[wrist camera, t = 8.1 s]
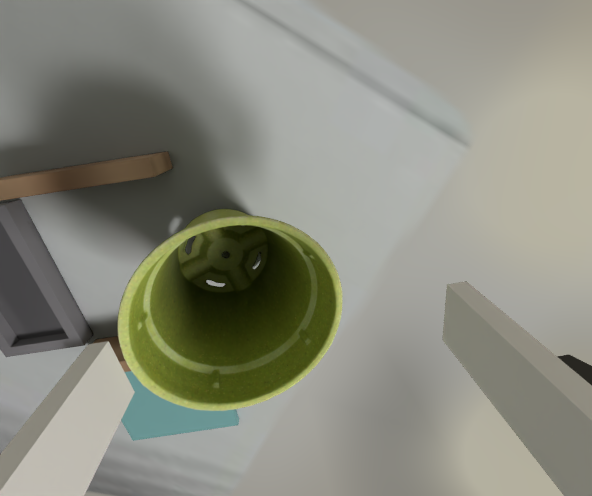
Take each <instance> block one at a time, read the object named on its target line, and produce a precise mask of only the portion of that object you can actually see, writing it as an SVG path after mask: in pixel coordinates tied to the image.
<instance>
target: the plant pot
mask: <svg viewBox="0 0 592 496" xmlns="http://www.w3.org/2000/svg"><path fill="white" fill-rule="evenodd" d="M241 225H245V226H241ZM193 236H195V239H194V242H193V244H192V247H191V253H190V254H187V253H186V251H185V247H186V245H187V241H188V239H189V238H191V237H193ZM225 251H226V252H229V254H230V256H229V257H228V258H224V257H222V253H223V252H225ZM259 252H260V253H261V261H260V264H259V265H258V267H257V268H256V269H252V266H253V265H254V263H255V261H256V258H257V256H258V253H259ZM206 280H211V281H214V282H216V283H225V284H226V285H224V286H223V287H217V286H211V285H208V283H206ZM341 313H342V288H341V282H340V279H339V276H338V273H337V270H336V268H335V266H334V264H333V262H332V260H331V259H330V257H329V256H328V254H327V253H326V252H325V251H324V249H323V248H322V247H321V246H320V245H319V244H318V243H317V242H316V241H315V240H314V239H312V238H311V237H310V236H308V235H307V234H305V233H304V232H302V231H301V230H299V229H297V228H295V227H293V226H291V225H289V224H286V223H284V222H281V221H278V220H274V219H270V218H265V217H259V216H249V215H247V214H245V213H243V212H240V211H237V210H231V209H217V210H213V211H209V212H207V213H204V214H202V215H200V216H198V217H197V218H195V219H193V220H192V221H191V222H190V223H189V224H188V225H187V226H186V228H185V229H183V230H182V231H180V232H178V233H176V234H174V235H173V236H171V237H170V238H168V239H167V240H165V241H164V242H162V243H161V244H160V245H159V246H158V247H156V248H155V249H154V250H153V251H152V252H151V253H150V254H149V255H148V256H147V257H146V258H145V259H144V260H143V262H142V263H141V264H140V265H139V267H138V268H137V269H136V271H135V272H134V274H133V275H132V277H131V279H130V280H129V282H128V284H127V286H126V289H125V291H124V294H123V296H122V299H121V303H120V308H119V313H118V339H119V343H120V347H121V350H122V354H123V356H124V359H125V361H126V363H127V365H128V367H129V368H130V370H131V371H132V372H133V374H134V375H135V376H136V377H137V379H138V380H139V381H140V382H141V384H142V385H143V386H144V387H146V388H147V389H149V390H150V391H151V392H152V393H154V394H156V395H157V396H159V397H161V398H162V399H165V400H167V401H169V402H172V403H174V404H177V405H180V406H184V407H187V408H192V409H196V410H206V411H225V410H234V409H239V408H243V407H247V406H251V405H254V404H257V403H260V402H263V401H266V400H268V399H270V398H272V397H274V396H276V395H279V394H281V393H282V392H284V391H286V390H287V389H289V388H291V387H292V386H293V385H295V384H296V383H298V382H299V381H300V380H301V379H303V378H304V377H305V376H306V375H307V374H308V373H309V372H310V371H311V370H312V369H313V368H314V367H315V366H316V365H317V364H318V363H319V361H320V360H321V359H322V358H323V356H324V355H325V353H326V352H327V351H328V349H329V347H330V346H331V344H332V342H333V340H334V337H335V334H336V332H337V329H338V326H339V323H340V319H341Z"/></svg>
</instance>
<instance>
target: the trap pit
mask: <svg viewBox="0 0 592 496" xmlns="http://www.w3.org/2000/svg"><path fill="white" fill-rule="evenodd" d="M92 336H93V333H92V331H91V329H90V328H89V326H88V324H87V322H86V320H85V318H84V316H83V314H82V313H81V311H80V309H79V307H78V305H77V303H76V301H75V300H74V298H73V296H72V294H71V292H70V290H69V288H68V287H67V285H66V283H65V281H64V279H63V277H62V275H61V274H60V272H59V270H58V268H57V266H56V264H55V262H54V261H53V259H52V257H51V255H50V253H49V251H48V249H47V247H46V246H45V244H44V242H43V240H42V238H41V236H40V234H39V233H38V231H37V229H36V227H35V225H34V223H33V221H32V220H31V218H30V216H29V214H28V212H27V210H26V208H25V207H24V205H23V203H22V201H21V200H16V201H9V202H3V203H0V349H1V351H2V352H3V354H4V355H5V356H6V357H10V356H16V355H23V354H30V353H36V352H43V351H50V350H56V349H63V348H70V347H76V346H83V345H85V344H86V343H87V341H88V340H89V339H90V338H91V337H92Z"/></svg>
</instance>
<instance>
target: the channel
mask: <svg viewBox="0 0 592 496" xmlns="http://www.w3.org/2000/svg"><path fill="white" fill-rule="evenodd" d="M172 168H173V166H172V163H171V160H170V157H169V153H168V151H167V152H161V153H155V154H148V155H142V156H135V157H129V158H122V159H116V160H109V161H103V162H96V163H90V164H83V165H77V166H70V167H64V168H58V169H51V170H45V171H38V172H32V173H25V174H19V175H12V176H7V177H2V178H0V201H1V200H7V199H14V198H20V197H27V196H33V195H40V194H46V193H53V192H59V191H66V190H72V189H79V188H85V187H92V186H98V185H105V184H111V183H118V182H124V181H131V180H137V179H144V178H150V177H155V176H157V175H159V174H162V173H164V172H166V171H168V170H170V169H172ZM106 341H109V343H110V345H111V347H112V349H113V351H114V353H115V355H116V357H117V359H118V361H119V363H120V364H121V366H122V368H123V370H124V372H129V371H131V370H130V368H129V367H128V365H127V363H126V361H125V359H124V356H123V354H122V350H121V347H120V343H119V339H118V336H116V337H109V338H103V339H96V340H95V341H94V342H93V344H94V343H100V342H106Z"/></svg>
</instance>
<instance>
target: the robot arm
mask: <svg viewBox="0 0 592 496" xmlns="http://www.w3.org/2000/svg"><path fill="white" fill-rule="evenodd" d="M444 316H445V317H444V328H443V341H444V342H445V344H446V345H447V346H448V347H449V349H450V350H451V351H452V353H453V354H454V355H455V356H456V358H457V359H458V360H459V361H460V363H461V364H462V365H463V367H464V368H465V369H466V370H467V372H468V373H469V374H470V376H471V377H472V378H473V379H474V381H475V382H476V383H477V384H478V386H479V387H480V389H481V390H482V391H483V392H484V394H485V395H486V396H487V397H488V399H489V400H490V401H491V402H492V404H493V405H494V406H495V408H496V409H497V410H498V412H499V413H500V414H501V415H502V417H503V418H504V419H505V421H506V422H507V423H508V424H509V426H510V427H511V428H512V430H513V431H514V432H515V433H516V435H517V436H518V437H519V439H520V440H521V441H522V442H523V444H524V445H525V446H526V448H527V449H528V450H529V451H530V453H531V454H532V455H533V457H534V458H535V459H536V460H537V462H538V463H539V464H540V466H541V467H542V468H543V469H544V470H545V472H546V473H547V475H548V476H549V477H550V478H551V480H552V481H553V482H554V483H555V485H556V486H557V487H558V489H559V490H560V491H561V492H562V494H563V495H564V496H592V366H591V365H589V364H587V363H585V362H583V361H581V360H579V359H576V358H575V357H573V356H571V355H564V356H558V357H557V356H556V355H554V354H553V353H552V352H551V351H549V350H548V349H547V348H546V347H545V346H543V345H542V344H541V343H540V342H539V341H538V340H536V339H535V338H534V337H533V336H531V335H530V334H529V333H528V332H527V331H525V330H524V329H523V328H522V327H521V326H519V325H518V324H517V323H516V322H514V321H513V320H512V319H511V318H509V316H507V315H506V314H505V313H504V312H503V311H501V310H500V309H499V308H498V307H496V306H495V305H494V304H493V303H492V302H491V301H489V300H488V299H487V298H486V297H485V296H483V295H482V294H481V293H480V292H479V291H477V290H476V289H475V288H474V287H473V286H471V285H470V284H469V283H468V282H467V281H465V282H459V283H453V284H447V291H446V303H445V315H444ZM134 393H135V392H134V390H133V388H132V386H131V384H130V382H129V380H128V378H127V376H126V374H125V372H124V370H123V368H122V366H121V364H120V363H119V361H118V359H117V357H116V355H115V353H114V351H113V349H112V347H111V345H110V343H109V341H106V342H100V343H94V344H88V345H87V347H86V348H85V349H84V350H83V352H82V353H81V354H80V355H79V357H78V358H77V359H76V360H75V362H74V363H73V364H72V365H71V367H70V368H69V369H68V370H67V372H66V373H65V374H64V375H63V377H62V378H61V379H60V380H59V382H58V383H57V384H56V385H55V387H54V388H53V389H52V390H51V392H50V393H49V394H48V395H47V397H46V398H45V399H44V400H43V402H42V403H41V404H40V405H39V407H38V408H37V409H36V410H35V412H34V413H33V414H32V415H31V417H30V418H29V419H28V420H27V422H26V423H25V424H24V425H23V427H22V428H21V429H20V430H19V432H18V433H17V434H16V435H15V437H14V438H13V439H12V440H11V442H10V443H9V444H8V445H7V447H6V448H5V449H4V450H3V452H2V453H1V454H0V496H84V495H85V493H86V491H87V488H88V486H89V484H90V482H91V480H92V478H93V476H94V474H95V472H96V470H97V468H98V466H99V464H100V462H101V460H102V458H103V456H104V454H105V452H106V450H107V448H108V446H109V444H110V442H111V440H112V438H113V436H114V433H115V431H116V429H117V427H118V425H119V423H120V421H121V419H122V417H123V415H124V413H125V411H126V409H127V407H128V405H129V403H130V401H131V399H132V397H133V395H134Z"/></svg>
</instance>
